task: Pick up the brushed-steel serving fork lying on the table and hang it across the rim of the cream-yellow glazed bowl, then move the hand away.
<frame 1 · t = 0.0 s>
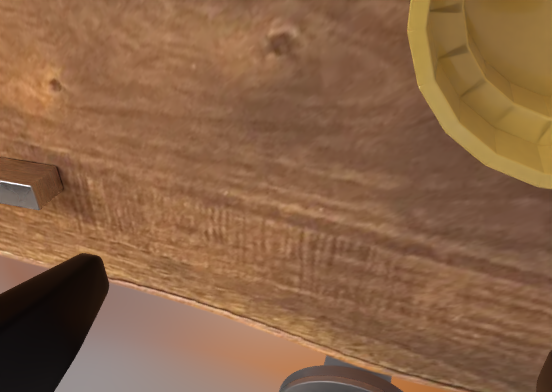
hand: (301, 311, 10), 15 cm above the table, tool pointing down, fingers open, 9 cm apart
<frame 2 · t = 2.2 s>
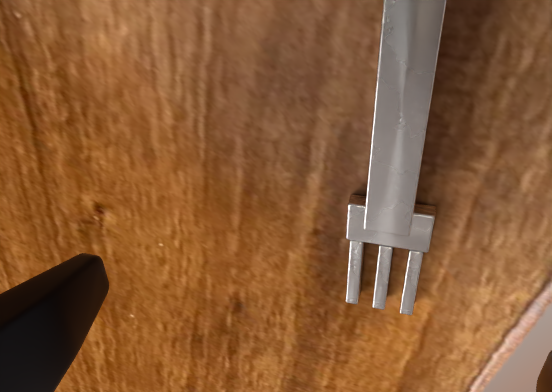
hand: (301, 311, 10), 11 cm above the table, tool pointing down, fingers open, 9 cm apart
fork: (399, 148, 20), on the table
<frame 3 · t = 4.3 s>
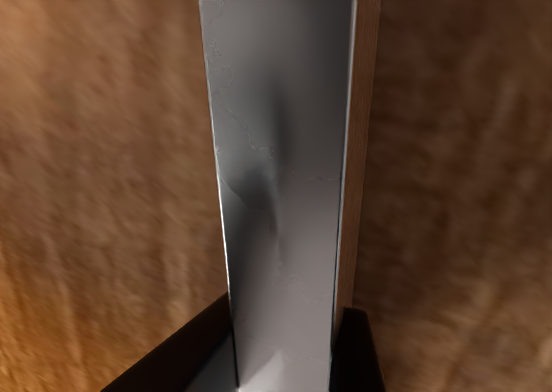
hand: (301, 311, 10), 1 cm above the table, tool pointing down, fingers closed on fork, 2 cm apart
fork: (312, 277, 11), on the table, touching gripper
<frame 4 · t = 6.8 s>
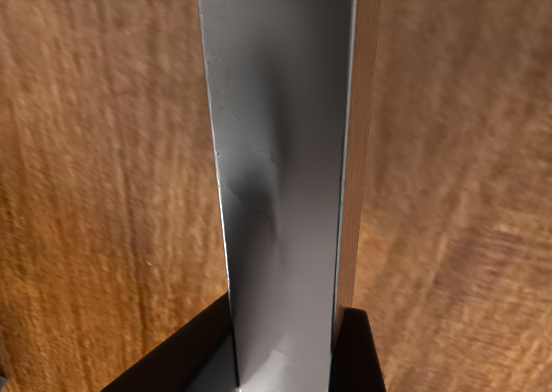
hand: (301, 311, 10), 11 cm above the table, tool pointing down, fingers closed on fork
fork: (312, 278, 11), point 10 cm above the table, touching gripper
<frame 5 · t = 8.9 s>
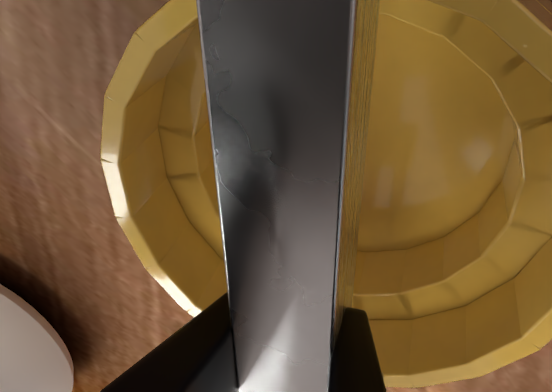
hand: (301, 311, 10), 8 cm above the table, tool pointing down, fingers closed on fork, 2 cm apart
flower in vase: (17, 321, 29), on the table
fork: (312, 278, 11), point 7 cm above the table, touching gripper
bowl: (359, 131, 16), on the table
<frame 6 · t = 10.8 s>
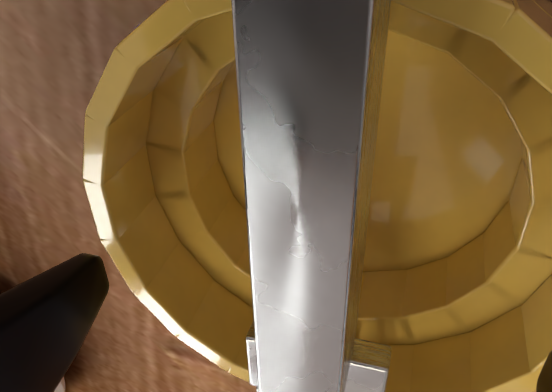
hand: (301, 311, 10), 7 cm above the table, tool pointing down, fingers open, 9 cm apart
fork: (324, 255, 11), point 5 cm above the table, touching bowl
bowl: (357, 147, 15), on the table
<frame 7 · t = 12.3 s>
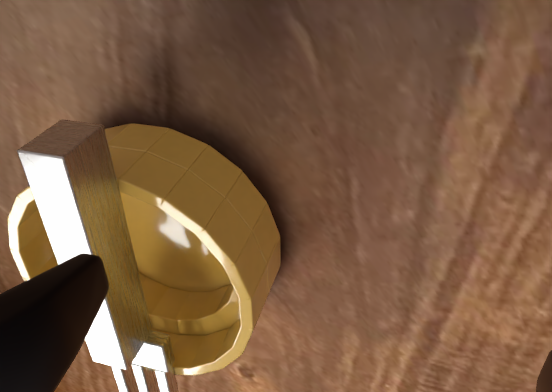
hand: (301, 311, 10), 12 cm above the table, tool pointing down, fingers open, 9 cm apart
fork: (127, 289, 23), point 5 cm above the table, touching bowl
bowl: (174, 222, 27), on the table
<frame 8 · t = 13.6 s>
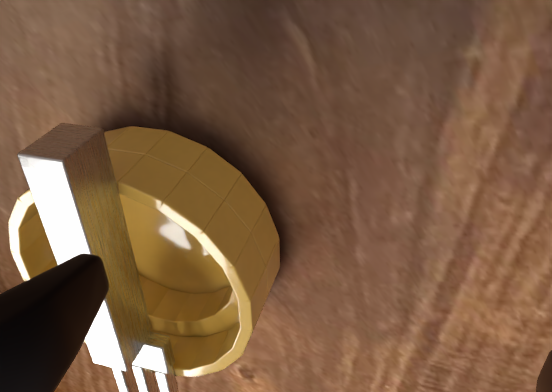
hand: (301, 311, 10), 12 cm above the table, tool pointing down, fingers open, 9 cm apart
fork: (127, 291, 23), point 5 cm above the table, touching bowl
bowl: (174, 224, 27), on the table
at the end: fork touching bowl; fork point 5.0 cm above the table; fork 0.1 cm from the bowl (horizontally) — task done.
